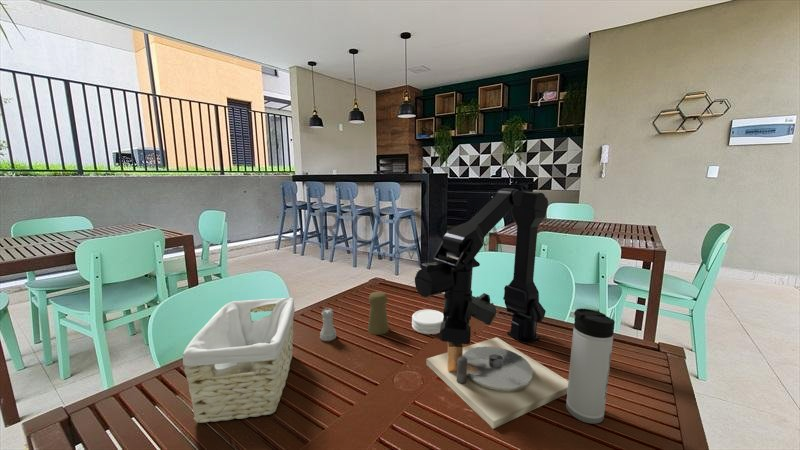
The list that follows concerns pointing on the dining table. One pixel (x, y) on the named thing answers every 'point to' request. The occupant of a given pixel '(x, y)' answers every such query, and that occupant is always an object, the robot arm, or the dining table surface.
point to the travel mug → (589, 365)
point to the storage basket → (240, 360)
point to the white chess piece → (327, 326)
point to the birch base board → (494, 403)
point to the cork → (378, 314)
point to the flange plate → (492, 367)
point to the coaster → (427, 321)
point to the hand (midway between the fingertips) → (454, 350)
